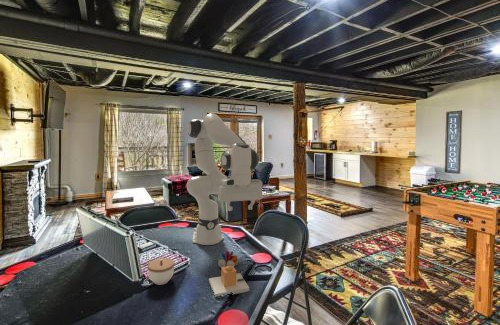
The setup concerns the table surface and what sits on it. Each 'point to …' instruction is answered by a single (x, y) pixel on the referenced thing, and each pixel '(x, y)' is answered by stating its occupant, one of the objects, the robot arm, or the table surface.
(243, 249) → the table surface
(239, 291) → the plate
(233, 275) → the orange cube with dome
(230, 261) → the rainbow segmented toy
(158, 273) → the lidded jar
